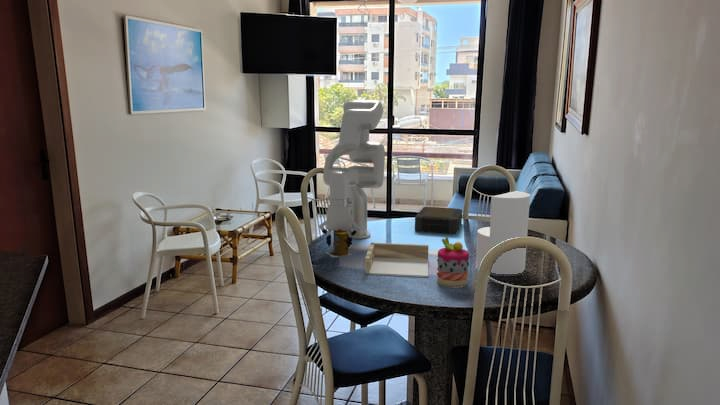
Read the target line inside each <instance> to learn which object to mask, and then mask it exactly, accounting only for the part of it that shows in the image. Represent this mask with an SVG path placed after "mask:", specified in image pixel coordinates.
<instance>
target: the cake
mask: <svg viewBox="0 0 720 405" xmlns="http://www.w3.org/2000/svg"><path fill="white" fill-rule="evenodd" d="M441 242H442V244H443V245H444V247H442V248H440V249H438V250H437V260H436V261H437V267H436V269H437V271H438V272H436V275H437V276H436V277H437V278H436V279H437V281H436V282H437V284H438V283H439V284H440V285H439V284H438V285H439V286H442V285H443V286H442V287H445V286H448V287H447V288H450V287H460V288H462V287H461V286H464V287H466V286H467V285H468V276H469V269H468V267H469V266H470V262H469V259H470V258H469V257H470V253H469V251H468V250H466V249H463V247H464V246H463V244H462V243H461V242H460V241H456V242H454V243H451V242H450V241H449V238H448V237H445V238H442V239H441ZM466 284H467V285H466ZM465 285H466V286H465Z"/></svg>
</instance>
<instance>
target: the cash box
mask: <svg viewBox="0 0 720 405" xmlns="http://www.w3.org/2000/svg"><path fill="white" fill-rule="evenodd" d="M462 222H463V209H461V208H454V207H453V208H451V207H439V206H437V207H436V206H424V207H422V208H421V209H420V210H419V211H418V213H417V214H416V215H415V217H414V231H415V232H417V233H425V234H439V235H453V236H455V235H457V234H458V232H459V229H460V228H461V226H460V225H462Z"/></svg>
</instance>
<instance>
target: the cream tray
mask: <svg viewBox="0 0 720 405" xmlns="http://www.w3.org/2000/svg"><path fill="white" fill-rule="evenodd" d="M366 252H367V253H366V254H365V258H364V275H369V272H370V269H371V266H372V263H373V260H374V257H378V258H400V259H422V260H428V261H429V244H414V243H413V244H412V243H409V244H408V243H389V242H388V243H387V242H371V243H370V244H369V247H368V250H367V251H366Z"/></svg>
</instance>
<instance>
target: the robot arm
mask: <svg viewBox="0 0 720 405" xmlns="http://www.w3.org/2000/svg"><path fill="white" fill-rule="evenodd" d="M342 109H343V114H342V117H341V125H340V132H339V138H338V143H337V144H336V145H335V146H334V147H333V148H332V149H330V151H329V153H328V154H327V156H326V158H325V160H324V166H323V167H324V168H323V176H322V179H323V182H324V183H323V184H325V185H326V186H329V204H328V205H327V210H326V220H325V221H323V222H322V223H321V224H319V225H318V228H319V229H320V231H321V232H322V233H323V234H324V236H325V238H326V244H327V247H331V245H332V235H331V232H334V231H338V230H339V229H341V230H343V231H346V232H347V234H348V235H349V237H348V247H349V248H351V245H353V240H360V239H367V238H369V237H371V232H370V231H368V195H367V193H366V192H365V190H364V189H380V188H382V187H383V185H384V180H385V163H386V150H385V146H384V144H383V143H382V142H378V141H370V130H371V131H372V130H375V129H376V128H377V127H378V125H379V123H380V121H381V119H382V118H383V115H384V114H383V113H384V107H383V104H382V103H381V101H379V100H363V99H362V100H349V101H345V103H344V104H343V107H342ZM347 154H348V158H349V160H350V162H351V163H354V164H372V165H373V166H368V165H367V166H365V165H351V166H348V167H335V166H334V164H335V163H336V161H338V159H339V158H341V157H342V156H344V155H347ZM325 226H326V227H325Z"/></svg>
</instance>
